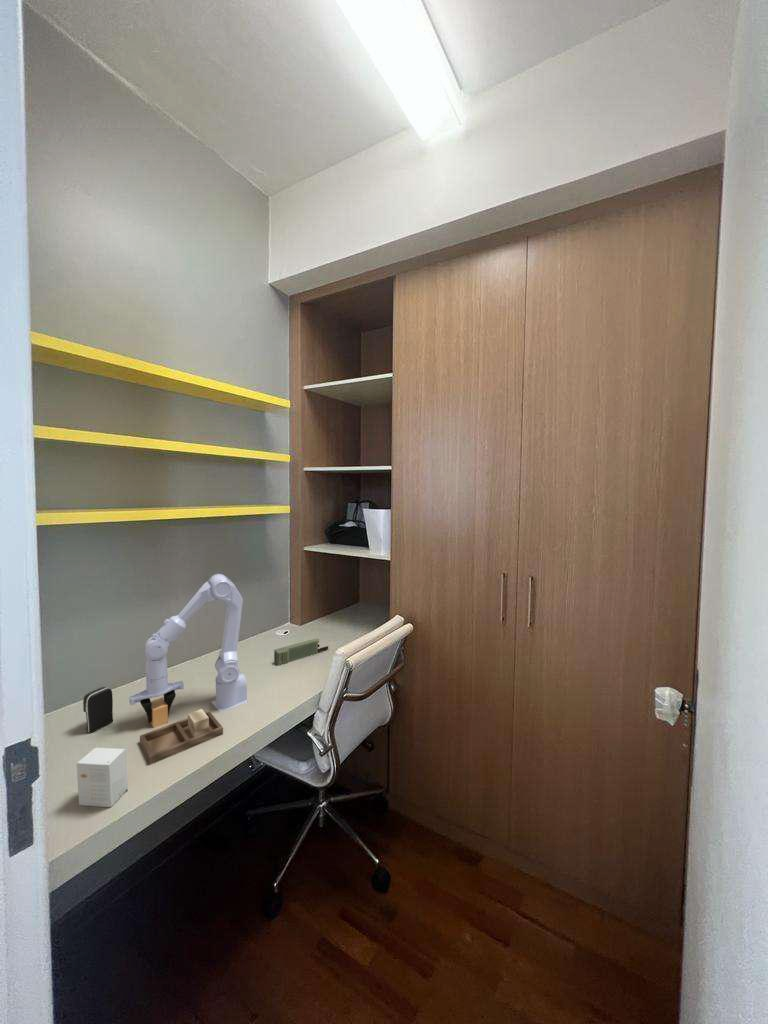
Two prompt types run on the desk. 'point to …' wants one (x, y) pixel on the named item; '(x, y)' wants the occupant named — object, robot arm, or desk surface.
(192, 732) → the maple block
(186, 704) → the desk surface
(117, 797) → the small box
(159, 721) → the plug block
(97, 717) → the battery charger
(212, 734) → the slot rack
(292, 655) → the handheld radio
